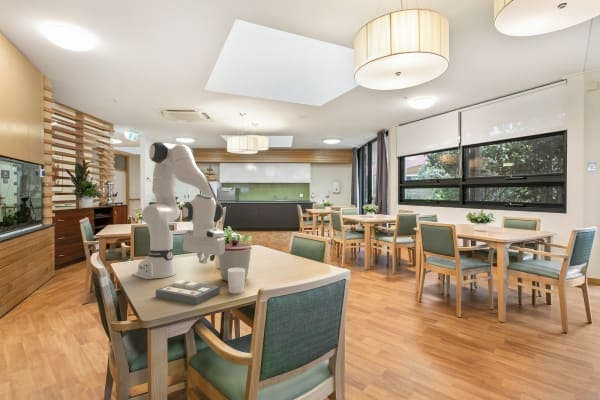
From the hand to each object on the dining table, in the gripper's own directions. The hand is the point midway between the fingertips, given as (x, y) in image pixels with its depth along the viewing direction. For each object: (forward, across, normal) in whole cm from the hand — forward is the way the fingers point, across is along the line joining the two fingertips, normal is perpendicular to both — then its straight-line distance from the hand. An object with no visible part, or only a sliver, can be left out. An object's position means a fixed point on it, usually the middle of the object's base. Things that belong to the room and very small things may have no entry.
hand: (203, 263), depth 128 cm
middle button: (+12, -6, 0) cm, 14 cm away
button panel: (+14, -6, -2) cm, 16 cm away
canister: (+14, -2, +27) cm, 31 cm away
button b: (+14, 0, 0) cm, 14 cm away
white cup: (+14, +10, +11) cm, 21 cm away
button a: (+12, -12, 0) cm, 18 cm away
